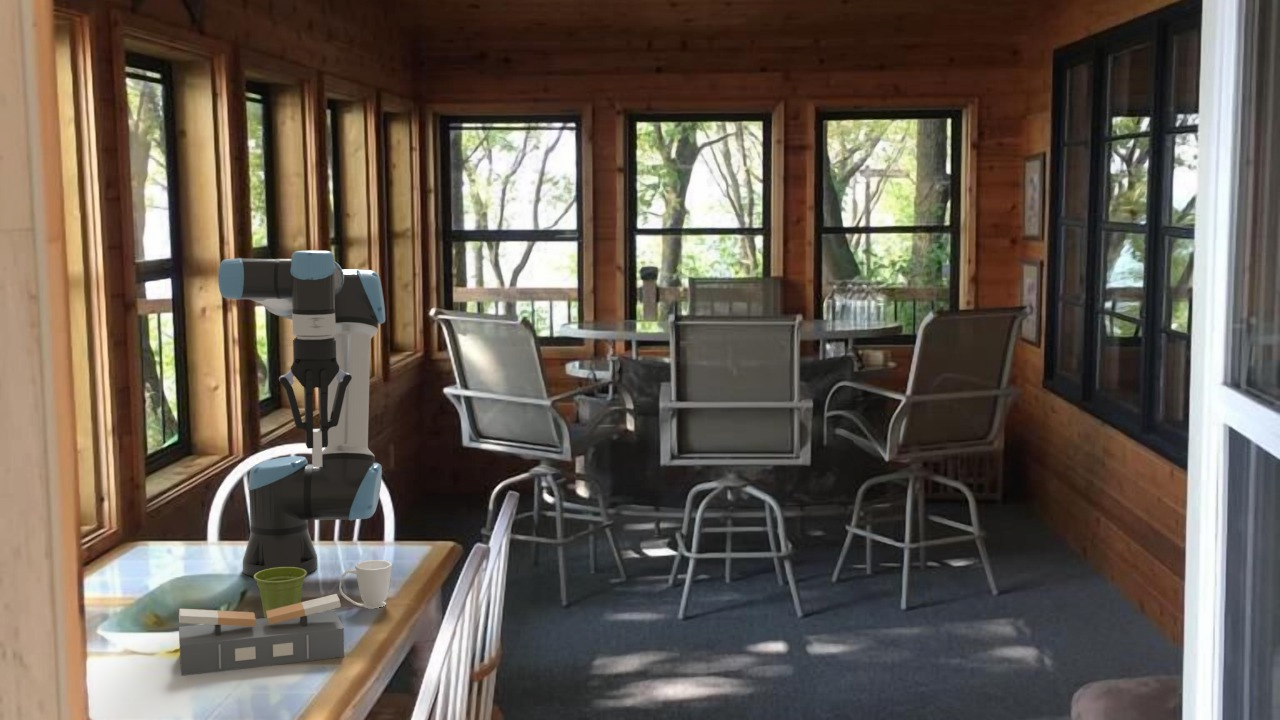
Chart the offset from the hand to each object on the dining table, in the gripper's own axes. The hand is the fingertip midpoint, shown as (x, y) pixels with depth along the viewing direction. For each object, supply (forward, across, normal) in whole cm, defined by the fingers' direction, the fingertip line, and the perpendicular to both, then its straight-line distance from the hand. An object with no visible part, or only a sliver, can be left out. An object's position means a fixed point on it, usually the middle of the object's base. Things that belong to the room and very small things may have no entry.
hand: (317, 465), depth 234 cm
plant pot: (+29, -7, +2) cm, 30 cm away
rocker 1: (+21, -19, -17) cm, 33 cm away
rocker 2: (+21, -5, -17) cm, 28 cm away
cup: (+29, +9, +5) cm, 31 cm away
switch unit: (+29, -12, -17) cm, 35 cm away
